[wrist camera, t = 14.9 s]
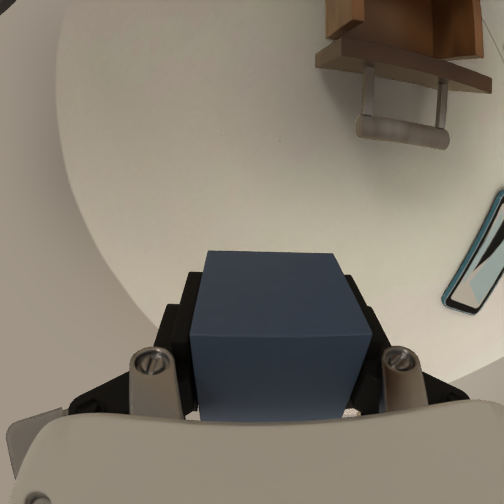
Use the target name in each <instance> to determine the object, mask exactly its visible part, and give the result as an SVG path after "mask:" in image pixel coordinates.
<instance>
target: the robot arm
mask: <svg viewBox="0 0 504 504" xmlns="http://www.w3.org/2000/svg"><path fill="white" fill-rule="evenodd" d="M202 274H203V272H189V274H188V277H187V280H186V284H185V287H184V291H183V294H182V297H181V301H180V304H167V306H166V309H165V312H164V315H163V318H162V321H161V324H160V327H159V330H158V333H157V337H156V340H155V343H154V346H153V347H147V348H143V349H141V350H139V351H137V352H136V353H135V354H134V355H133V356H132V358H131V360H130V368H129V371H128V372H126V373H124V374H122V375H120V376H118V377H116V378H114V379H112V380H110V381H108V382H106V383H104V384H103V385H100V386H98V387H96V388H94V389H92V390H90V391H88V392H86V393H84V394H82V395H80V396H78V397H77V398H75V399H74V400H73V401H72V403H71V404H70V406H69V409H66V410H63V409H62V408H58V409H55V410H52V411H48V412H45V413H42V414H39V415H36V416H33V417H29V418H26V419H23V420H19V421H17V422H15V423H13V424H12V425H11V426H10V427H9V428H8V430H7V433H6V441H7V446H8V451H9V456H10V461H11V465H12V469H13V473H14V477H15V483H14V486H13V489H12V492H11V495H10V499H9V502H8V504H504V406H503V405H501V404H498V403H496V402H491V401H486V400H470V398H469V397H468V395H467V394H466V393H465V392H463V391H462V390H460V389H458V388H456V387H454V386H451V385H449V384H447V383H445V382H443V381H441V380H439V379H437V378H435V377H433V376H431V375H429V374H427V373H425V372H422V369H421V365H420V361H419V358H418V356H417V355H416V354H415V353H414V352H413V351H411V350H410V349H408V348H405V347H402V346H391V344H390V342H389V340H388V338H387V336H386V334H385V332H384V331H383V329H382V327H381V325H380V323H379V321H378V319H377V317H376V315H375V313H374V311H373V309H372V308H371V307H370V306H367V304H366V302H365V301H364V299H363V297H362V295H361V293H360V291H359V289H358V287H357V285H356V283H355V282H354V280H353V278H352V276H351V275H344V276H345V278H346V280H347V282H348V284H349V286H350V288H351V290H352V292H353V294H354V296H355V298H356V300H357V302H358V304H359V306H360V308H361V310H362V312H363V314H364V316H365V318H366V321H367V323H368V325H369V327H370V329H371V331H372V338H371V341H370V344H369V347H368V349H367V352H366V355H365V358H364V361H363V364H362V367H361V369H360V372H359V375H358V377H357V380H356V383H355V385H354V388H353V391H352V393H351V396H350V398H349V401H348V403H347V406H346V408H345V409H350V408H354V409H356V410H358V413H357V416H356V417H347V418H336V419H324V420H310V421H291V422H216V421H195V420H186V419H185V416H186V415H187V414H189V413H191V412H192V411H197V409H198V399H197V392H196V384H195V376H194V368H193V360H192V351H191V342H190V330H191V325H192V321H193V316H194V311H195V306H196V302H197V297H198V292H199V288H200V283H201V279H202Z"/></svg>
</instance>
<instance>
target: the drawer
mask: <svg viewBox="0 0 504 504" xmlns="http://www.w3.org/2000/svg"><path fill="white" fill-rule="evenodd" d="M326 39H331V40H336V41H335V42H333V43H332V44H330V45H329V46H327V47H326V48H324V49H322V50H321V51H319V52H318V53H316V59H315V67H316V68H322V69H331V70H339V71H347V72H354V73H360V74H363V95H362V113H361V114H362V115H358V117H357V120H356V134H357V137H359V138H365V139H374V140H382V141H390V142H397V143H404V144H410V145H417V146H423V147H429V148H434V149H440V150H445V149H447V147H448V146H449V142H450V137H449V133H448V131H447V130H445V124H446V111H447V95H448V91H463V92H476V93H487V94H491V93H492V78H490V77H487V76H485V75H482V74H480V73H477V72H475V71H472V70H469V69H467V68H464V67H461V66H458V65H455V64H453V63H450V62H446V61H450V60H462V59H478V58H484V51H483V29H482V16H481V6H480V0H326ZM374 76H378V77H384V78H389V79H394V80H399V81H403V82H408V83H412V84H417V85H421V86H425V87H429V88H433V89H436V90H438V94H437V111H436V123H435V127H433V126H428V125H423V124H418V123H412V122H407V121H401V120H395V119H389V118H382V117H376V116H372V109H373V89H374Z"/></svg>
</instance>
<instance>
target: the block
mask: <svg viewBox="0 0 504 504" xmlns="http://www.w3.org/2000/svg"><path fill="white" fill-rule="evenodd" d="M371 338H372V331H371V329H370V327H369V325H368V323H367V321H366V318H365V316H364V314H363V312H362V310H361V308H360V306H359V304H358V302H357V300H356V298H355V296H354V294H353V292H352V290H351V288H350V286H349V284H348V282H347V280H346V278H345V276H344V274H343V272H342V270H341V268H340V266H339V264H338V262H337V260H336V258H335V256H334V254H332V253H291V252H250V251H208V252H207V257H206V261H205V265H204V270H203V274H202V279H201V283H200V288H199V292H198V297H197V302H196V306H195V311H194V316H193V321H192V325H191V330H190V342H191V351H192V360H193V368H194V376H195V384H196V392H197V399H198V405H199V412H200V420H201V421H216V422H291V421H310V420H324V419H336V418H342V415H343V413H344V410H345V408H346V406H347V403H348V401H349V398H350V396H351V393H352V391H353V388H354V385H355V383H356V380H357V377H358V375H359V372H360V369H361V367H362V364H363V361H364V358H365V355H366V352H367V349H368V347H369V344H370V341H371Z"/></svg>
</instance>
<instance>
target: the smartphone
mask: <svg viewBox="0 0 504 504" xmlns="http://www.w3.org/2000/svg"><path fill="white" fill-rule="evenodd" d="M503 273H504V190H503V191H501V192H500V193H499V194H498V196H497V198H496V200H495V202H494V204H493V206H492V209H491V211H490V213H489V215H488V217H487V219H486V221H485V223H484V225H483V227H482V229H481V231H480V233H479V235H478V237H477V238H476V240H475V242H474V244H473V246H472V248H471V250H470V251H469V253H468V255H467V257H466V258H465V260H464V262H463V264H462V265H461V267H460V269H459V271H458V272H457V274H456V276H455V277H454V279H453V280H452V282H451V284H450V285H449V287H448V289H447V290H446V292H445V293H444V295H443V297H442V303H443V304H444V306H445V307H447V308H450V309H453V310H456V311H460V312H463V313H466V314H469V315H475V314H477V313H478V312H479V311H480V310H481V308H482V307H483V305H484V304H485V302H486V301H487V299H488V298H489V296H490V295H491V293H492V292H493V290H494V288H495V287H496V285H497V283H498V282H499V280H500V279H501V277H502V275H503Z"/></svg>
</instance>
